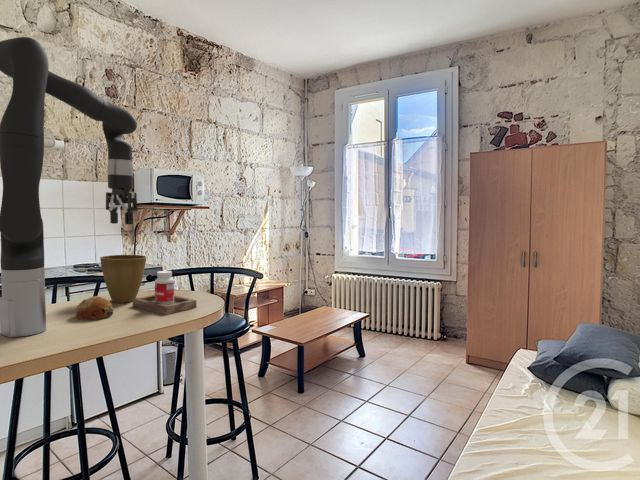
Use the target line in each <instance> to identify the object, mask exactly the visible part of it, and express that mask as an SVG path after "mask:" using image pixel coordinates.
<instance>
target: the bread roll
mask: <svg viewBox="0 0 640 480" xmlns="http://www.w3.org/2000/svg"><path fill="white" fill-rule="evenodd" d="M114 311H115V308H114V305H113V304H112V302H111V301H110V300H109V299H107V298H106V297H102V296H99V295H93V296H91V297H88V298H85V299H83V300H82V301H81V302H80V303H79V304H78V305H77V307H76V309H75V316H76V318H77V319H78V320H84V321H98V320H103V319H108V318H110V317H112V316H113V314H114Z"/></svg>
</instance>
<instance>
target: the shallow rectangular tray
mask: <svg viewBox="0 0 640 480" xmlns="http://www.w3.org/2000/svg"><path fill="white" fill-rule="evenodd" d="M132 306H133V307H134V308H139V309H143V310H146V311H150V312H154V313H158V314H162V315H166V316H167V315H171V314H173V313H179V312H183V311H187V310H191V308H192V309H196V308H197V300H196V299H193V298H188V297H182V296H179V295H178V296H177V295H174V303H173V304H171V305H164V304H159V303H155V294H153V295H147V296H142V297H136V298H135V299H133V301H132ZM195 307H196V308H195Z"/></svg>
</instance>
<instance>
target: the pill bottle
mask: <svg viewBox="0 0 640 480" xmlns="http://www.w3.org/2000/svg"><path fill="white" fill-rule="evenodd" d="M172 276H173V272H172V271H171V270H160V271H157V272H156V277H157V278H156V279H155V280H154V295H155V303H159V304H164V305H171V304H173V303H174V296H175V280H174V278H173V277H172Z"/></svg>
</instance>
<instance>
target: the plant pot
mask: <svg viewBox="0 0 640 480" xmlns="http://www.w3.org/2000/svg"><path fill="white" fill-rule="evenodd" d="M99 261H100V266H101V271H102V275H103V279H104V283H105V285H106V288H107V289H106V290H107V292H108V294H109V297H110V299H111V301H112V302H113V303H115V304H116V303H117V304H118V303H120V304H122V303H123V304H124V303H130V302H133V299H135V298H137V296H138V293H139V291H140V287H141V284H142V282H143V277H144V273H145V269H146V263H147V255H140V254H111V255H104V256H100V257H99Z"/></svg>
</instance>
